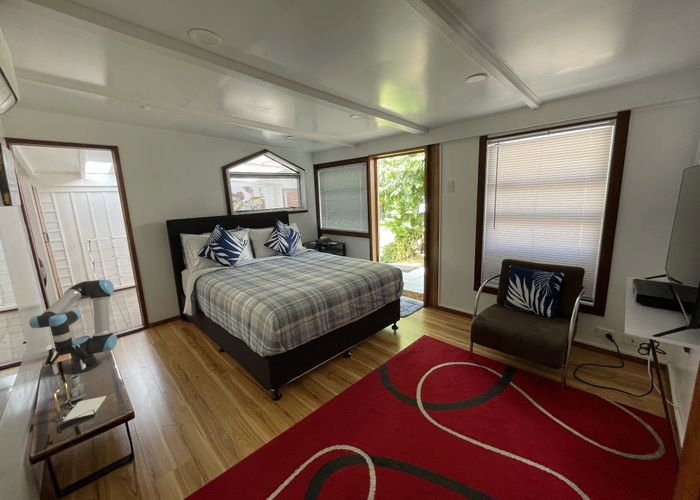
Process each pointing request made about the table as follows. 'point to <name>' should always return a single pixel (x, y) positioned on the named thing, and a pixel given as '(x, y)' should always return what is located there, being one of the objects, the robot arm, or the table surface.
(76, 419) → the phone
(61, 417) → the wire frame
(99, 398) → the mat
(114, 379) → the table surface
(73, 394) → the camera
